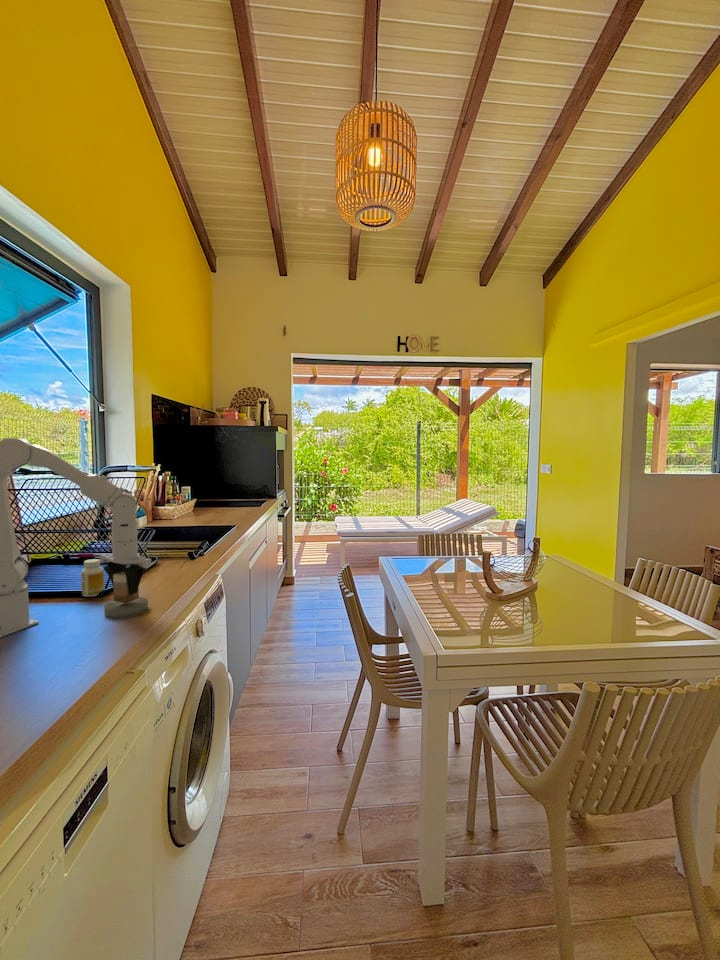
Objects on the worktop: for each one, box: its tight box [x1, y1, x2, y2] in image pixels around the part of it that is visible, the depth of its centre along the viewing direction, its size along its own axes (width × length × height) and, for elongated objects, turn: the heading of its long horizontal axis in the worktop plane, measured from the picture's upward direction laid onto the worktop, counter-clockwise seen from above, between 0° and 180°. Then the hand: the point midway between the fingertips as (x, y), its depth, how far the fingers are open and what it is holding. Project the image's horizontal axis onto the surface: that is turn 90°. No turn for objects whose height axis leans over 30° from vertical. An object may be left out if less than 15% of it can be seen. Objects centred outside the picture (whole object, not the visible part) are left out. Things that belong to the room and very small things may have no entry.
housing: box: [112, 571, 140, 603], centre depth 115 cm, size 4×4×7 cm
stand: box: [103, 596, 149, 619], centre depth 115 cm, size 10×10×2 cm
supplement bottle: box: [80, 558, 105, 598], centre depth 127 cm, size 5×5×10 cm
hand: (126, 592), depth 115 cm, fingers closed on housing, 4 cm apart
